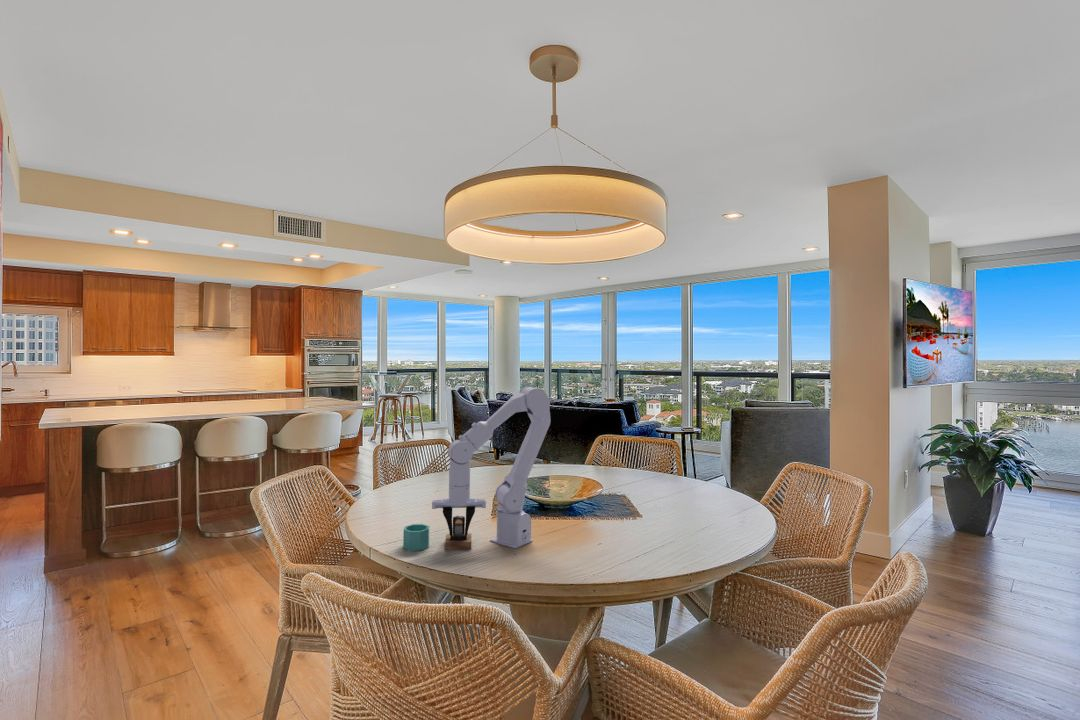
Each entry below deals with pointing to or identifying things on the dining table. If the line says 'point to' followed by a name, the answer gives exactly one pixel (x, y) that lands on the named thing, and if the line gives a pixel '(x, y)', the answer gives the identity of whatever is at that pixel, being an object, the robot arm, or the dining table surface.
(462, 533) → the cell
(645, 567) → the dining table surface
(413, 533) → the cup
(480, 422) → the robot arm
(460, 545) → the block
